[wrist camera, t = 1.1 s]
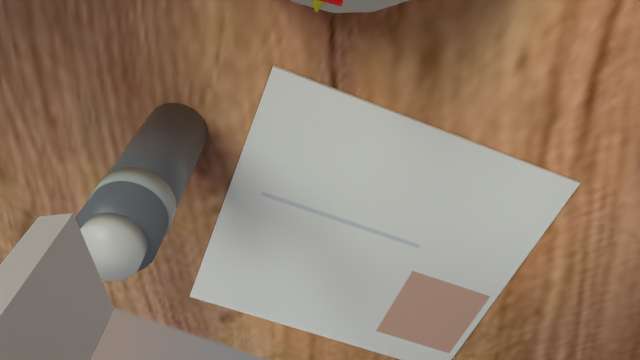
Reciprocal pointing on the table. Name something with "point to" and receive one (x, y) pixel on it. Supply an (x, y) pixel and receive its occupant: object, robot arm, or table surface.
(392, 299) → the paper
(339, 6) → the kitchen timer
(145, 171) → the marker
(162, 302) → the table surface
